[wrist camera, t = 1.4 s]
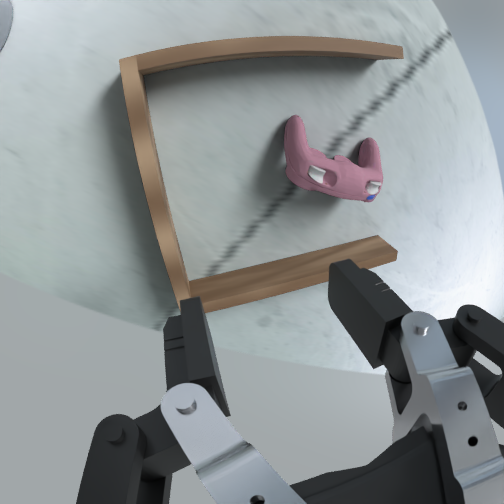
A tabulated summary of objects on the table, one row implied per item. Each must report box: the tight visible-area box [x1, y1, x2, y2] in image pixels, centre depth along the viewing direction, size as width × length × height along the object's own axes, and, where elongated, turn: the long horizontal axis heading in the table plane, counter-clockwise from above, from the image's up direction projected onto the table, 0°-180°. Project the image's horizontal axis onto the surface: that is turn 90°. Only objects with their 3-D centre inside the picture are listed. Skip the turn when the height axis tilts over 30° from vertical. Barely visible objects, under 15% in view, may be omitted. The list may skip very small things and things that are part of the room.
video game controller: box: [284, 115, 383, 202], centre depth 25 cm, size 10×5×7 cm, turn 78°
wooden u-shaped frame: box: [119, 36, 404, 313], centre depth 25 cm, size 22×23×4 cm
